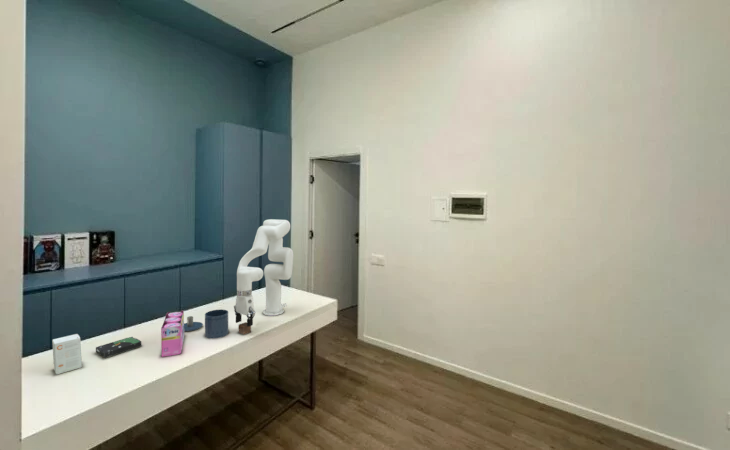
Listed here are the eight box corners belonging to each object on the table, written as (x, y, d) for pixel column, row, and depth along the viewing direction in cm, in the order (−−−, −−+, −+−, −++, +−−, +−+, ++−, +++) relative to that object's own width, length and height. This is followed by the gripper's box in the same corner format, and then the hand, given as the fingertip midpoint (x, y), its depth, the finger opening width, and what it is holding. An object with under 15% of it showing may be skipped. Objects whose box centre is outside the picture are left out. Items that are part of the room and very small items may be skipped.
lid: (195, 322, 186) (195, 311, 186) (207, 327, 179) (207, 316, 179) (173, 328, 176) (172, 318, 176) (184, 334, 169) (184, 323, 169)
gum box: (167, 336, 166) (167, 311, 165) (185, 334, 169) (184, 309, 168) (161, 357, 144) (160, 328, 143) (181, 354, 148) (180, 325, 147)
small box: (79, 362, 139) (78, 333, 138) (82, 367, 134) (80, 337, 134) (53, 369, 132) (51, 339, 131) (55, 375, 128) (54, 343, 127)
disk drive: (104, 359, 142) (142, 346, 155) (104, 353, 142) (141, 340, 154) (95, 353, 147) (132, 341, 160) (95, 347, 147) (131, 335, 160)
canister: (220, 328, 178) (220, 308, 178) (232, 333, 172) (232, 312, 171) (200, 334, 169) (200, 313, 168) (212, 340, 163) (212, 318, 162)
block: (245, 330, 177) (245, 322, 176) (250, 332, 174) (250, 324, 174) (238, 332, 173) (238, 324, 173) (243, 334, 170) (243, 326, 170)
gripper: (260, 294, 170) (260, 325, 171) (240, 288, 180) (240, 318, 181) (248, 297, 164) (248, 329, 165) (228, 291, 173) (228, 322, 174)
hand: (244, 323), depth 173 cm, fingers open, 9 cm apart
